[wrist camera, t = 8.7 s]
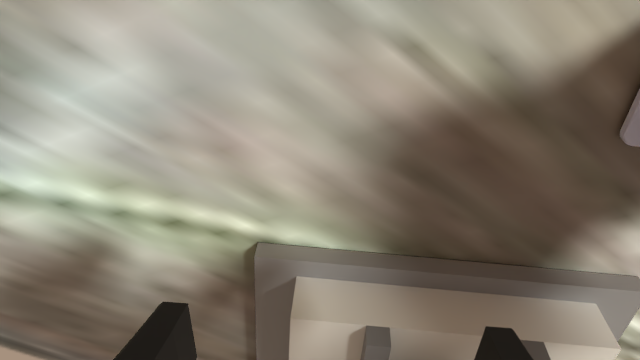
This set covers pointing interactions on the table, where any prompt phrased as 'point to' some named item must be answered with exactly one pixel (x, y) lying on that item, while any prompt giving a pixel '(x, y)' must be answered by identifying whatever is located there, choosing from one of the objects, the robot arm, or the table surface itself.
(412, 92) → the table surface
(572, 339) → the stepped base plate
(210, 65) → the table surface
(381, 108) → the table surface
